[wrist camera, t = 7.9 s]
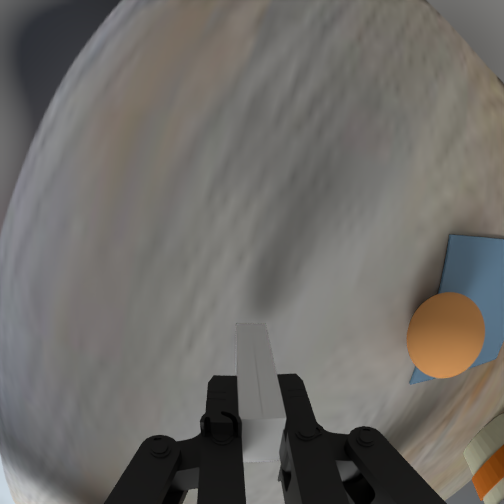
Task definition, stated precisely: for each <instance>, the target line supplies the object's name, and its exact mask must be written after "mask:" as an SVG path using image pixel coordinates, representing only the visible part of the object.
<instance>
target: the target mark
mask: <svg viewBox="0 0 504 504" xmlns="http://www.w3.org/2000/svg"><path fill="white" fill-rule="evenodd" d="M445 292H455V293H459V294H462V295H465V296H466V297H468V298H470V299H471V300H472V301H473V302H474V303H475V304H476V305H477V306H478V308H479V310H480V311H481V313H482V316H483V319H484V324H485V339H484V343H483V346H482V349H481V352H480V354H479V355H478V357H477V358H476V360H475V361H474V363H473V364H472V365H471V366H470V367H469V368H472V367H475V366H478V365H481V364H483V363H486V362H489V361H492V360H494V359H496V358H497V355H498V353H499V351H500V348H501V346H502V343H503V341H504V239H497V238H486V237H475V236H463V235H451V234H449V241H448V247H447V253H446V258H445V264H444V269H443V274H442V278H441V283H440V287H439V291H438V294H440V293H445ZM469 368H468V369H469ZM431 379H435V377H431V376H429V375H426V374H425V373H423V372H422V371H420V370H419V369H418V368H417V367H415V370H414V372H413V375H412V378H411V380H410V385H411V384H415V383H419V382H423V381H427V380H431Z"/></svg>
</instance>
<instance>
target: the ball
mask: <svg viewBox="0 0 504 504" xmlns="http://www.w3.org/2000/svg"><path fill="white" fill-rule="evenodd" d="M484 339H485V324H484V319H483V316H482V313H481V311H480V310H479V308H478V306H477V305H476V304H475V303H474V302H473V301H472V300H471V299H470V298H468V297H466V296H465V295H462V294H459V293H455V292H445V293H440V294H437V295H434V296H432V297H431V298H429V299H428V300H426V301H425V302H424V303H422V304H421V305H420V307H419V308H418V309H417V310H416V312H415V313H414V315H413V317H412V319H411V321H410V323H409V327H408V331H407V348H408V352H409V355H410V357H411V359H412V361H413V363H414V364H415V366H416V367H417V368H418V369H419V370H420V371H422V372H423V373H425V374H426V375H429V376H431V377H435V378H449V377H453V376H456V375H458V374H460V373H462V372H463V371H465V370H466V369H468V368H469V367H470V366H471V365H472V364H473V363H474V361H475V360H476V358H477V357H478V355H479V354H480V352H481V349H482V346H483V343H484Z"/></svg>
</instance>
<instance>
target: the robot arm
mask: <svg viewBox="0 0 504 504" xmlns="http://www.w3.org/2000/svg"><path fill="white" fill-rule="evenodd" d="M235 371H236V376H217V375H214V376H213V377H212V378H211V380H210V381H209V382H208V390H207V401H206V413H205V414H204V415H203V416H202V417H201V420H200V427H201V433H200V434H199V435H198V436H196V437H194V438H192V439H188V440H183V441H177V442H176V441H175V440H174V439H173V438H171V437H169V436H164V435H156V436H151V437H149V438H147V439H146V440H145V441H144V442H143V443H142V444H141V446H140V447H139V449H138V450H137V452H136V454H135V455H134V457H133V458H132V460H131V462H130V463H129V465H128V466H127V468H126V470H125V471H124V473H123V474H122V476H121V478H120V479H119V481H118V482H117V484H116V485H115V487H114V489H113V490H112V492H111V493H110V495H109V497H108V498H107V500H106V501H105V503H104V504H183V501H184V499H185V497H186V494H187V492H188V490H189V489H195V488H198V499H197V504H246V496H245V482H244V466H243V463H244V462H271V461H278V460H279V455H280V461H281V467H280V471H279V476H278V481H281V483H282V489H283V495H284V501H285V504H447V503H446V502H445V501H444V500H443V499H442V498H441V497H440V496H439V495H438V494H437V493H436V492H435V491H434V490H433V489H432V488H431V487H430V486H429V485H428V484H427V482H426V481H425V480H424V479H423V478H422V477H421V476H420V475H419V474H418V473H417V472H416V471H415V470H414V469H413V468H412V466H411V465H410V464H409V463H408V462H407V461H406V460H405V459H404V458H403V457H402V456H401V455H400V453H399V452H398V451H397V450H396V449H395V448H394V447H393V446H392V445H391V444H390V443H389V441H388V440H387V439H386V438H385V437H384V436H383V435H382V434H381V433H380V432H379V431H378V430H376V429H374V428H371V427H365V426H362V427H358V428H355V429H354V430H352V431H351V432H350V434H349V435H348V434H337V433H331V432H328V431H326V430H324V429H323V427H322V426H320V425H319V424H318V423H317V422H316V419H315V416H314V413H313V410H312V407H311V404H310V401H309V398H308V395H307V392H306V390H305V386H304V383H303V380H302V379H301V378H300V377H299V376H298V375H297V374H277V373H276V368H275V364H274V359H273V355H272V350H271V346H270V341H269V337H268V332H267V327H266V323H236V354H235Z"/></svg>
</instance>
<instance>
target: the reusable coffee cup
mask: <svg viewBox="0 0 504 504" xmlns="http://www.w3.org/2000/svg"><path fill="white" fill-rule="evenodd" d="M463 455H464V457H465V459H466V461H467V463H468V465H469V468H470V470H471V472H472V474H473V478H472V481H473V483H474V486H475V488H476V491H477V493H478V496H479V498H480V501H481V500H484V503H485V504H504V413H502V414H500V415H499V416H497V417H496V418H494V419H493V420H492V421H491V422H489V423H488V424H487V425H486V426H485V427H484V428H483V429H482V430H481V431H480V432H479V433H478V434H477V435H476V436H475V437H474V438H473V439H472V441H471V442H470V443H469V444H468V446H467V447H466V449H465V450H464V453H463Z"/></svg>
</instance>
